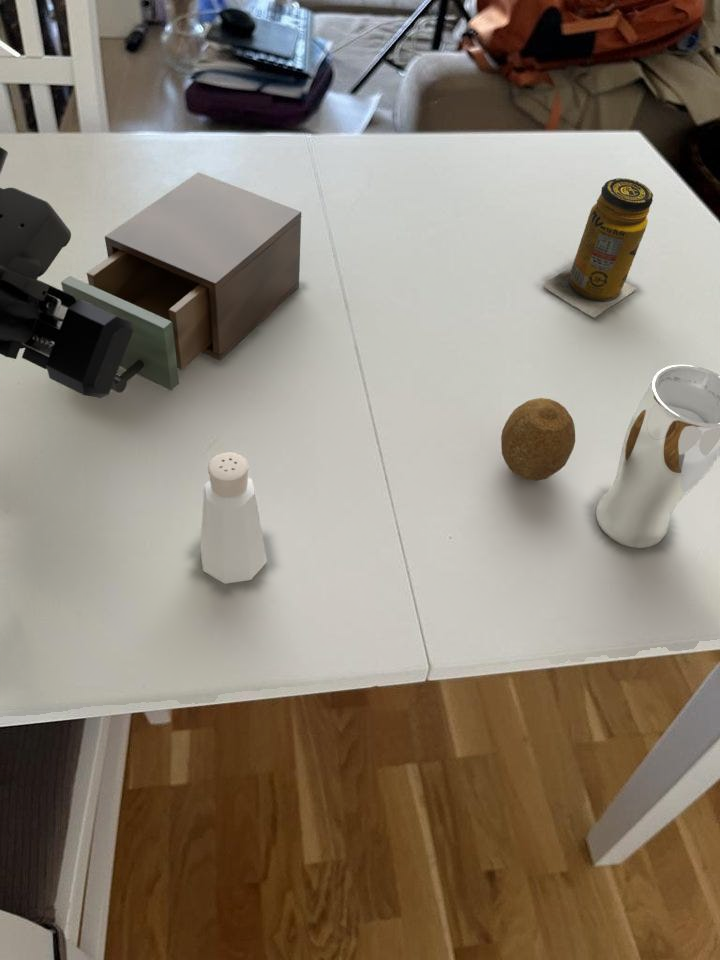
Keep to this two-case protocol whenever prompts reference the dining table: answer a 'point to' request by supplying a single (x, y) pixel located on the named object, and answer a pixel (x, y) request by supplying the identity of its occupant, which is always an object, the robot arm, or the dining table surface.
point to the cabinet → (220, 251)
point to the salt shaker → (231, 522)
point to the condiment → (606, 248)
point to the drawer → (150, 315)
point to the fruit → (538, 439)
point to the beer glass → (663, 454)
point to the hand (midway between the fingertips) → (82, 333)
